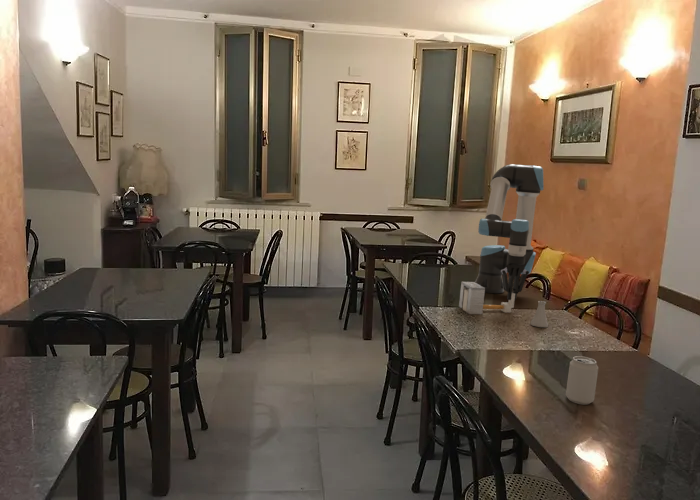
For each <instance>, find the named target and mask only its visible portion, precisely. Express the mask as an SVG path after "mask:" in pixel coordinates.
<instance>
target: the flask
mask: <svg viewBox="0 0 700 500" xmlns="http://www.w3.org/2000/svg"><path fill="white" fill-rule="evenodd" d="M537 303H538V304H537V308H536V311H535V313H534V315H533V317H532V319H531V321H530V323H529V325H531V326H532V327H538V328H548V327H549V323H548V319H547V315H546V314H547V313H546V304H547V301H542V300H537Z"/></svg>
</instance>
